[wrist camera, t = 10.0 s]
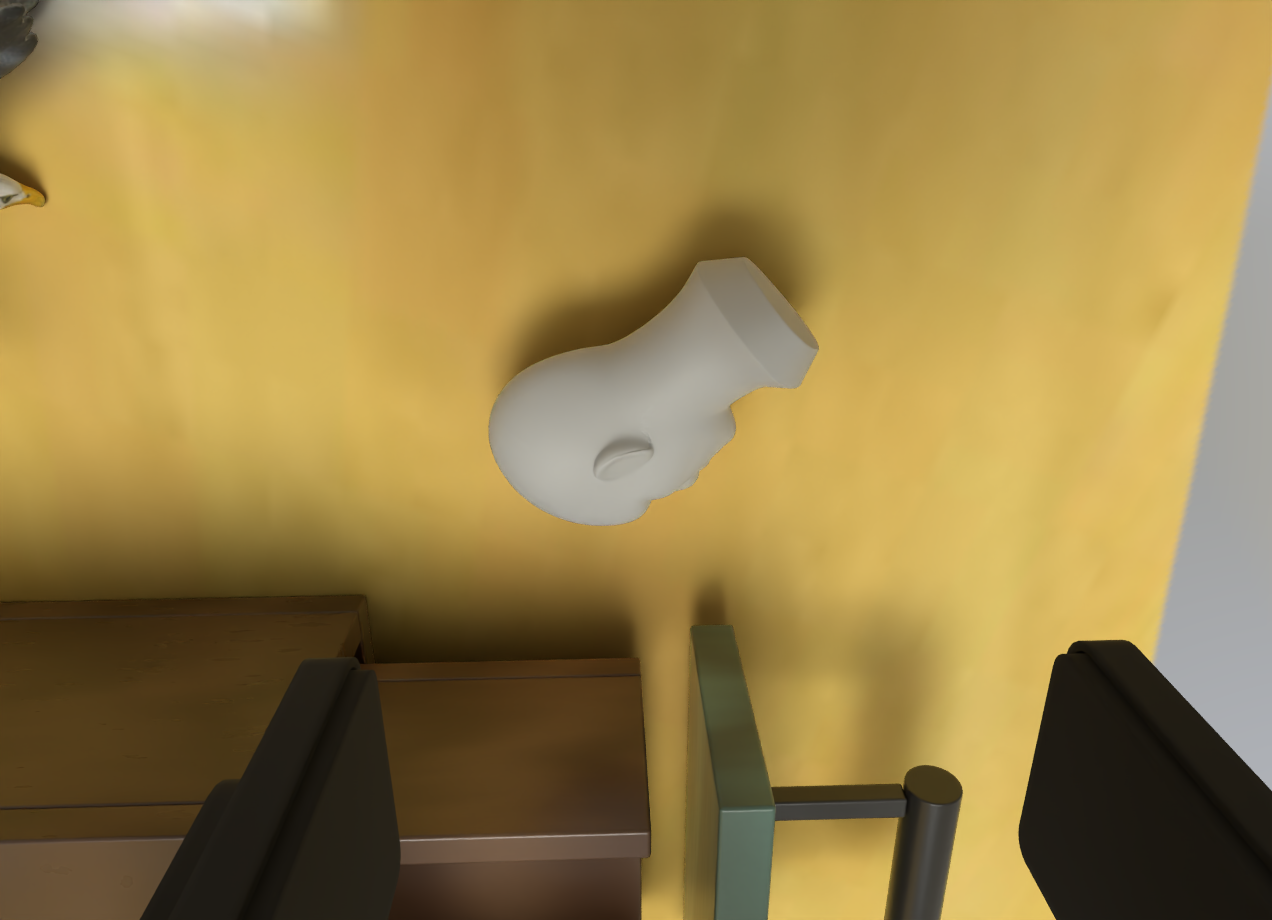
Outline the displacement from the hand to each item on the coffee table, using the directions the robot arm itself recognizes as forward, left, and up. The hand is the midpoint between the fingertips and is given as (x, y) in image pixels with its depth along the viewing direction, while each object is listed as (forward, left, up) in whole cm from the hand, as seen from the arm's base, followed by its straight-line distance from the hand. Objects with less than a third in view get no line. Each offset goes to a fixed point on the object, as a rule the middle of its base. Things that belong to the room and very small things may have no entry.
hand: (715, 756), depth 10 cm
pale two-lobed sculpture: (0, 0, -14) cm, 14 cm away
